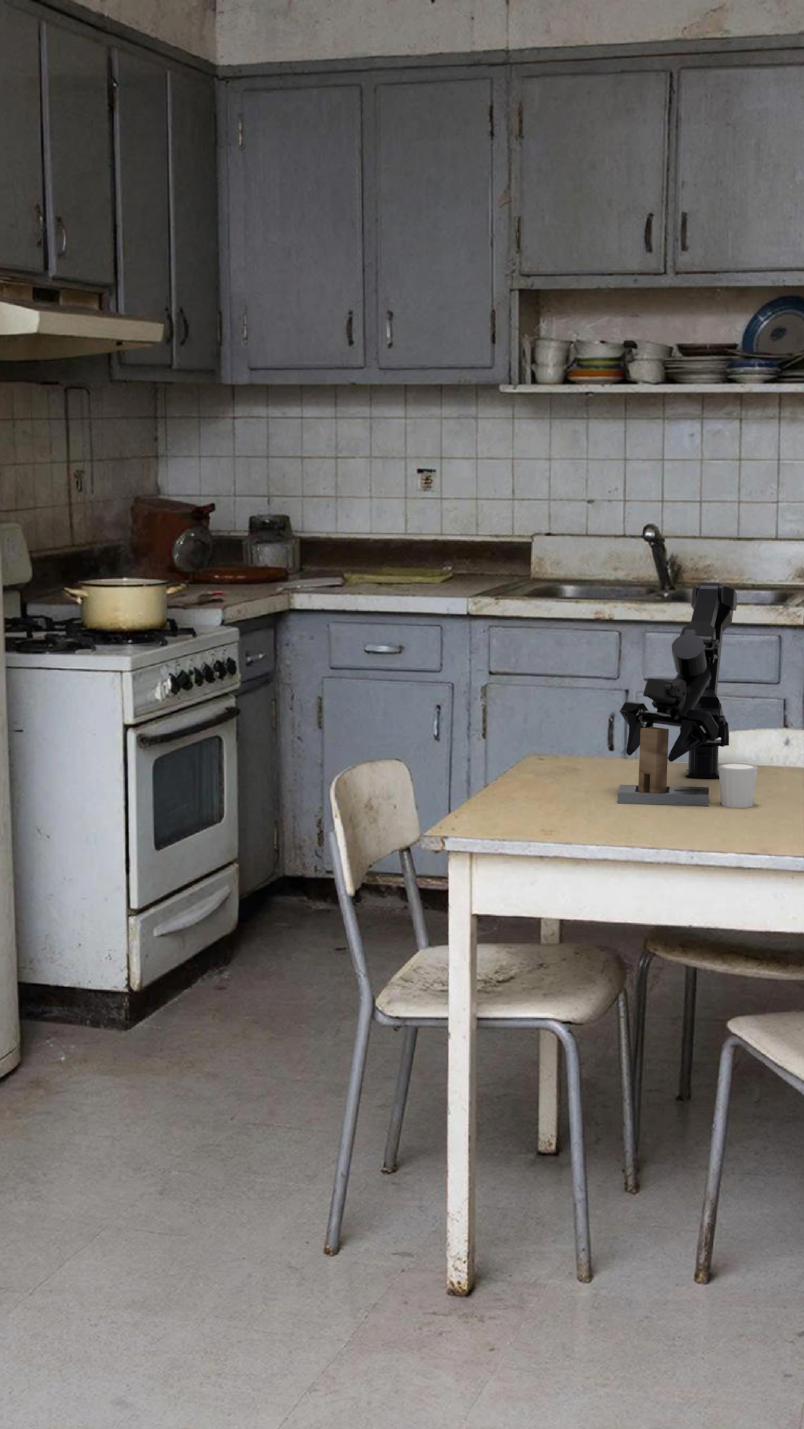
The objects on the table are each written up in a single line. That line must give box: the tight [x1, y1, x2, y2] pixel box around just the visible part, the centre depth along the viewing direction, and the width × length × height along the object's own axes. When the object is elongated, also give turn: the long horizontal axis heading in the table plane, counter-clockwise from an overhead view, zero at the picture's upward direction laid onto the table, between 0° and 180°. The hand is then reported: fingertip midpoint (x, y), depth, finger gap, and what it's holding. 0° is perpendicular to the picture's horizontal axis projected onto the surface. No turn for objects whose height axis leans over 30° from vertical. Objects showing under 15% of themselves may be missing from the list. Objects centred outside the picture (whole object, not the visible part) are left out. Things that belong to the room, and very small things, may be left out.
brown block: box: [637, 726, 670, 793], centre depth 302 cm, size 4×4×13 cm
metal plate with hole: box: [617, 784, 710, 807], centre depth 303 cm, size 8×16×2 cm, turn 80°
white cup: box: [718, 762, 758, 809], centre depth 299 cm, size 7×7×7 cm
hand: (648, 757), depth 301 cm, fingers open, 9 cm apart
